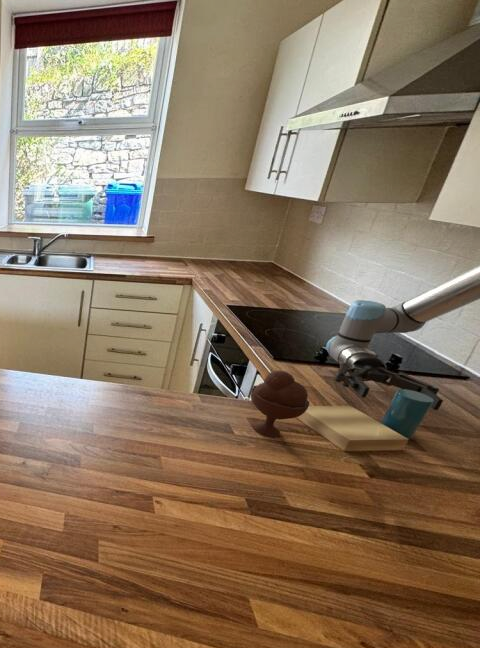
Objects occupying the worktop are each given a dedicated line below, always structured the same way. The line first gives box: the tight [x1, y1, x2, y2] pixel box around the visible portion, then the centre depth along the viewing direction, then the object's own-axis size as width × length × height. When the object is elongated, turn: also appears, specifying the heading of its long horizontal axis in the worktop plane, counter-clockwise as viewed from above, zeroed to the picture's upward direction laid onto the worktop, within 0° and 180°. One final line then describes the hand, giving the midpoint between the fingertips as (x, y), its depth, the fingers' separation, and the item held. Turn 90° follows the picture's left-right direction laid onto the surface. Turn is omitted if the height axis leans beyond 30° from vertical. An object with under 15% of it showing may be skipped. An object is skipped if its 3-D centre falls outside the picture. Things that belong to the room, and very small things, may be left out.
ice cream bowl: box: [250, 370, 310, 439], centre depth 92 cm, size 11×11×15 cm
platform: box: [295, 405, 410, 452], centre depth 95 cm, size 14×14×3 cm
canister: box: [379, 388, 434, 440], centre depth 94 cm, size 6×6×10 cm
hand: (401, 398), depth 97 cm, fingers open, 13 cm apart
